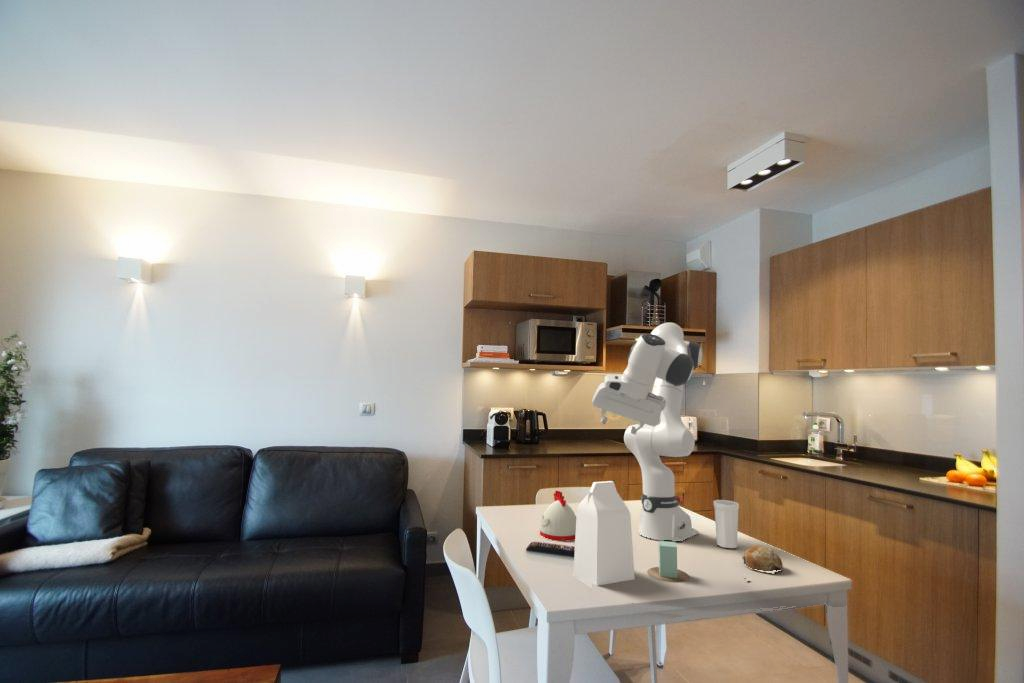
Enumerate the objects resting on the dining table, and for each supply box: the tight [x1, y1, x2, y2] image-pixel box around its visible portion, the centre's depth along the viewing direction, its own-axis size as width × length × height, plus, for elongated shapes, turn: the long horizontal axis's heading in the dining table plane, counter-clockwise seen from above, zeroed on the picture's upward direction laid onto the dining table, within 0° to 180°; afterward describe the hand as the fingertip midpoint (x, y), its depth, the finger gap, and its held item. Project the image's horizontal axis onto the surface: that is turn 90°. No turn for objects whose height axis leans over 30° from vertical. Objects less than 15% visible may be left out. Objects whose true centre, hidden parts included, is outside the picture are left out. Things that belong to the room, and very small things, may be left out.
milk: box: [573, 480, 636, 589], centre depth 132 cm, size 12×12×26 cm
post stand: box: [646, 566, 690, 584], centre depth 132 cm, size 11×11×7 cm
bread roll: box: [741, 545, 784, 571], centre depth 142 cm, size 10×10×8 cm
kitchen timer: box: [539, 490, 576, 542], centre depth 172 cm, size 14×14×15 cm
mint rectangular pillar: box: [658, 540, 678, 578], centre depth 132 cm, size 4×4×8 cm
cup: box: [712, 499, 740, 549], centre depth 162 cm, size 8×8×14 cm
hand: (617, 428), depth 146 cm, fingers open, 8 cm apart
